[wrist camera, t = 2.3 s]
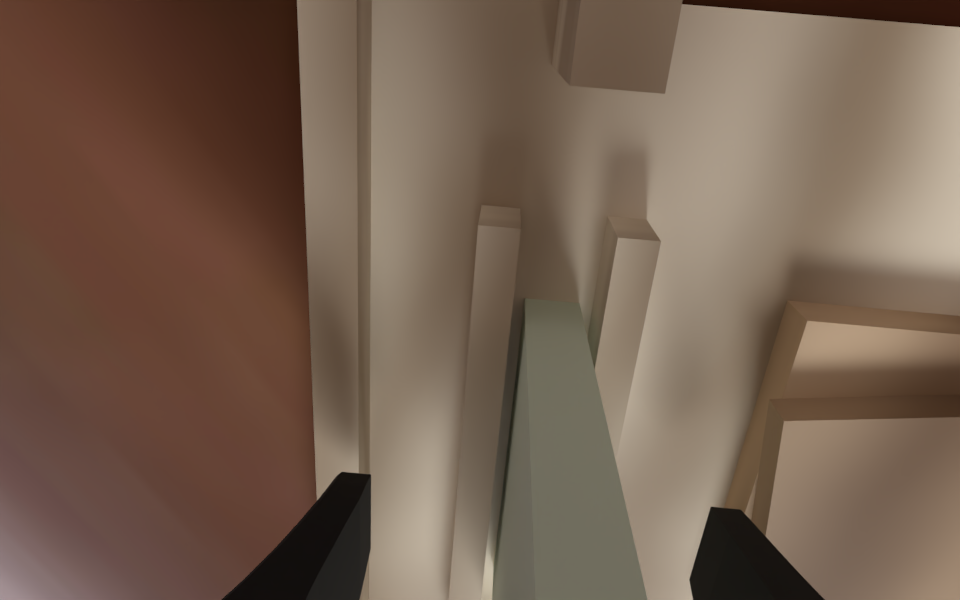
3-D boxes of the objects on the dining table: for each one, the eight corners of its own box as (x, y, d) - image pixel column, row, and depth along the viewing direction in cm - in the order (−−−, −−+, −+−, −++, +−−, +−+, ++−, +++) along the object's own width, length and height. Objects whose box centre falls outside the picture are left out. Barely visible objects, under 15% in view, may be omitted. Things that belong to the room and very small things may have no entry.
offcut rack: (1278, 55, 12) (1766, 77, 7) (902, 725, 20) (1017, 934, 15) (329, -24, 12) (214, -52, 7) (343, 669, 20) (293, 858, 16)
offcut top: (1018, 393, 13) (1049, 415, 12) (939, 630, 16) (960, 659, 15) (769, 398, 13) (784, 421, 12) (735, 630, 16) (745, 658, 15)
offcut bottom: (1070, 325, 13) (1110, 348, 12) (916, 620, 17) (939, 655, 16) (787, 300, 13) (807, 320, 12) (696, 599, 17) (706, 632, 16)
